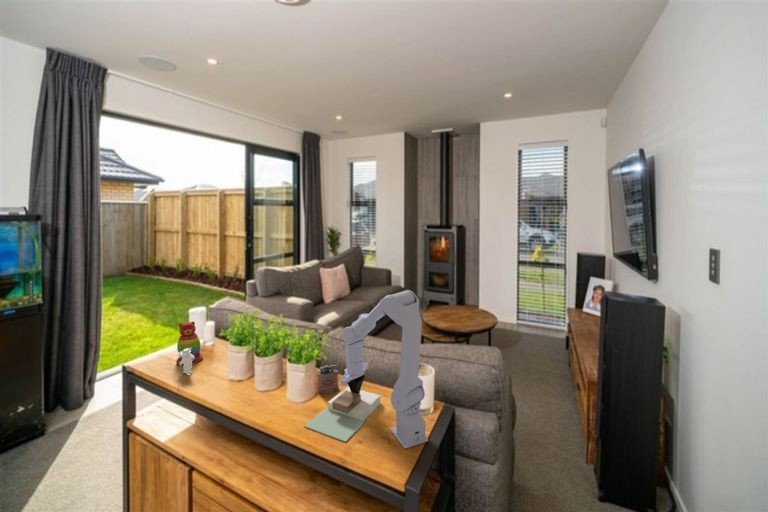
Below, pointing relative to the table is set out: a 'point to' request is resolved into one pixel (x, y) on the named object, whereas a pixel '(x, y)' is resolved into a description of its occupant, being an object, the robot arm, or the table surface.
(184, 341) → the stacking bear
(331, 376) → the lighter
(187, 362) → the flower shoulder figurine
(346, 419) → the mat
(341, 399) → the walnut tile
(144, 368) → the table surface
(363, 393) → the white flat block
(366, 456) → the table surface
